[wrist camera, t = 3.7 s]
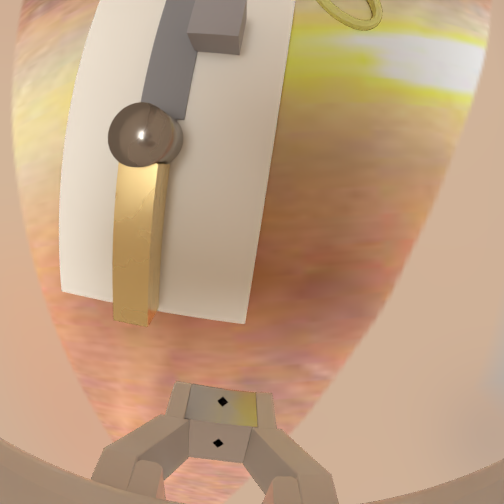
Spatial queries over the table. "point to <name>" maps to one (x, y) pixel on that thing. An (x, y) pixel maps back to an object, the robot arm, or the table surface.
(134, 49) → the lock plate
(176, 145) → the swing arm
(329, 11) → the key
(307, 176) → the table surface
